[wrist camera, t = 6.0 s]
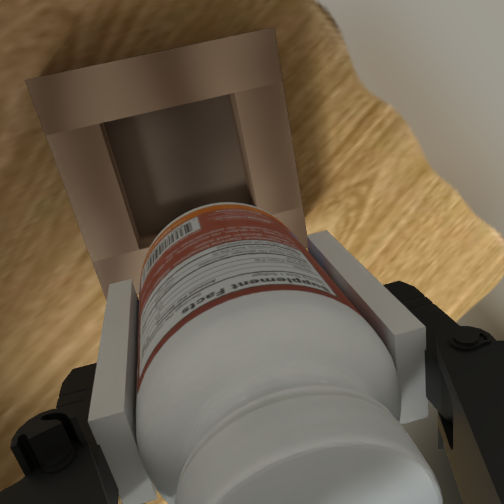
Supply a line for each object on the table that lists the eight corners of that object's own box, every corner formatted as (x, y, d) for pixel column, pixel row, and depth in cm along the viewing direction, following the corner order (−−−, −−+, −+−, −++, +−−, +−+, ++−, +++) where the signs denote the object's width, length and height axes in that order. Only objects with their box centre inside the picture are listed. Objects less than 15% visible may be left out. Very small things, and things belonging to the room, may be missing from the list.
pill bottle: (289, 344, 20) (435, 642, 10) (137, 347, 18) (127, 697, 8) (312, 201, 18) (534, 396, 8) (142, 191, 16) (136, 415, 6)
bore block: (110, 280, 34) (107, 302, 31) (37, 77, 28) (24, 80, 25) (294, 230, 36) (309, 247, 33) (260, 30, 30) (274, 27, 27)
